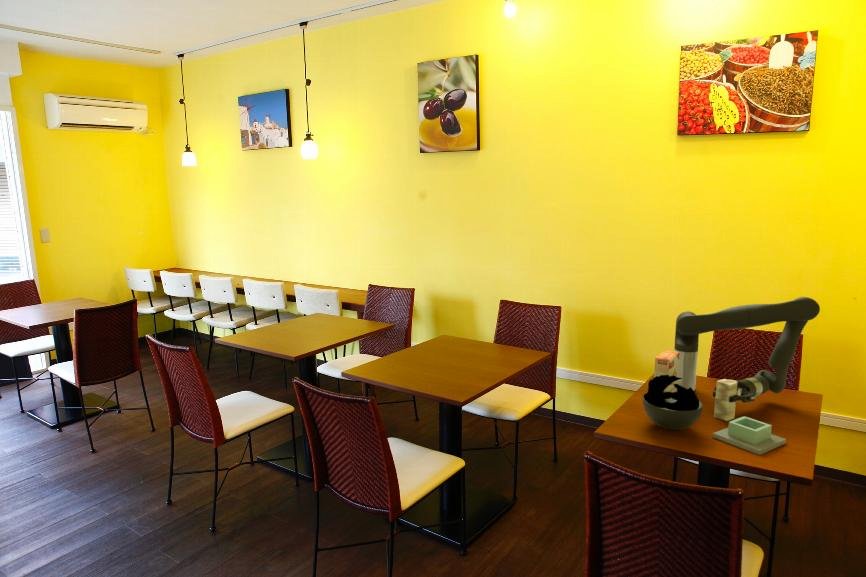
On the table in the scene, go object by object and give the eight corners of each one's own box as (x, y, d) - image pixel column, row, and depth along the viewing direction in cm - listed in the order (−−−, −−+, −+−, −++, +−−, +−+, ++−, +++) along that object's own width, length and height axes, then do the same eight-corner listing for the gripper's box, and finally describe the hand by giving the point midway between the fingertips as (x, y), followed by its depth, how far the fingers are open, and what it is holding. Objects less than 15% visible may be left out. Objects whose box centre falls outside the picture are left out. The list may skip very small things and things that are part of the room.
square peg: (713, 416, 215) (716, 381, 213) (721, 414, 217) (724, 378, 215) (726, 421, 211) (729, 384, 208) (734, 418, 213) (737, 382, 211)
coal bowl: (651, 412, 219) (654, 365, 216) (707, 425, 207) (711, 376, 203) (632, 429, 204) (635, 378, 201) (691, 444, 191) (695, 391, 188)
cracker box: (667, 412, 219) (670, 359, 216) (650, 408, 223) (654, 357, 219) (676, 401, 230) (680, 351, 227) (661, 398, 234) (664, 349, 230)
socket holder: (712, 437, 197) (714, 420, 196) (738, 427, 205) (740, 411, 204) (759, 455, 184) (761, 437, 183) (785, 443, 192) (787, 426, 191)
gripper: (730, 374, 226) (704, 382, 217) (767, 384, 214) (741, 393, 205) (728, 392, 227) (703, 400, 218) (765, 403, 215) (740, 413, 206)
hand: (722, 397), depth 211 cm, fingers open, 5 cm apart
